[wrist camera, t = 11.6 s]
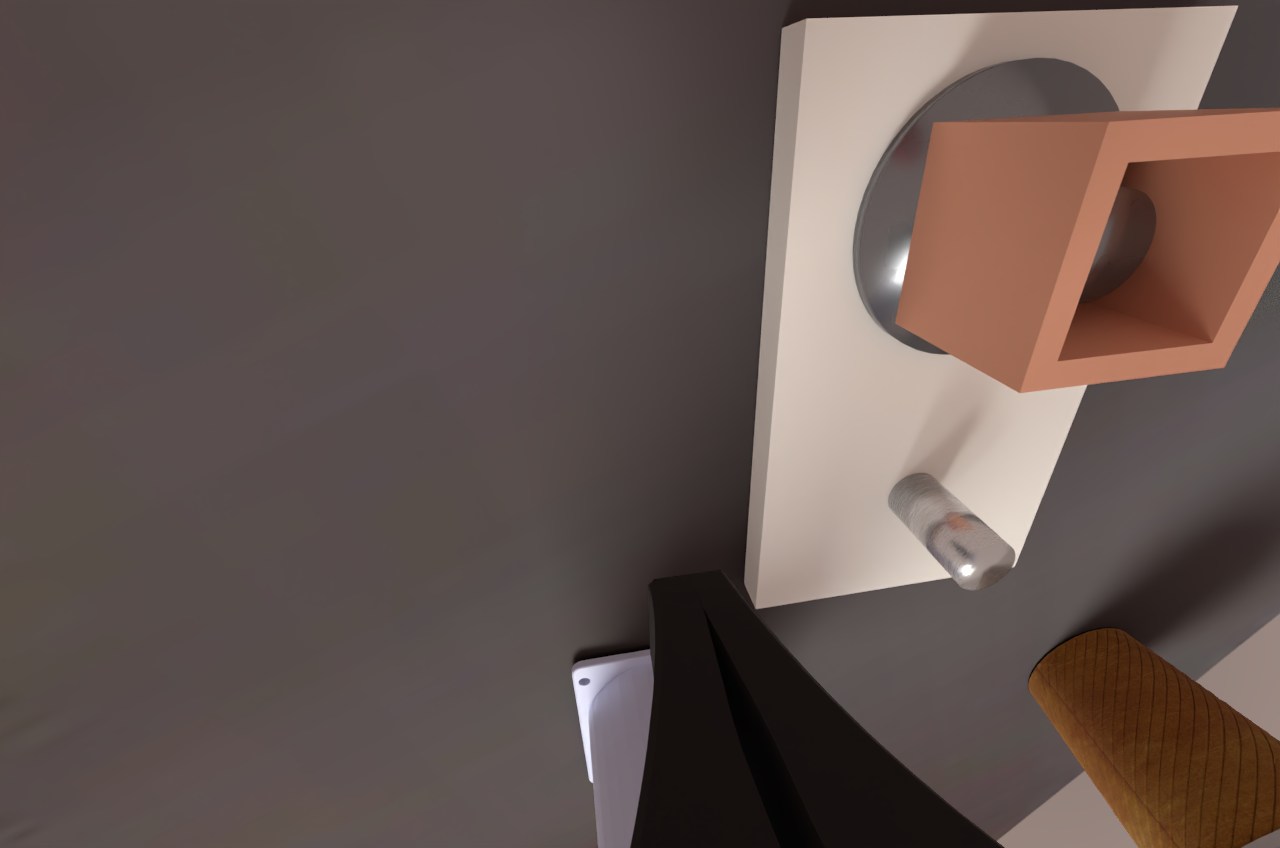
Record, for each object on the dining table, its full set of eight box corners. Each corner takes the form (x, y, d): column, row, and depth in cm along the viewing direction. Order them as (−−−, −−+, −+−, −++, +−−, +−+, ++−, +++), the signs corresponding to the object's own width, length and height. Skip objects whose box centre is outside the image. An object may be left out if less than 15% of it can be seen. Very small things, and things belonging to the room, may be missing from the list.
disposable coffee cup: (1183, 635, 32) (1488, 878, 22) (1053, 729, 35) (1267, 980, 25) (1107, 584, 28) (1432, 847, 18) (970, 693, 32) (1181, 972, 21)
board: (990, 544, 25) (1014, 567, 24) (743, 583, 24) (755, 609, 23) (1180, 15, 16) (1238, 5, 14) (782, 28, 14) (806, 18, 13)
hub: (1056, 336, 18) (1175, 385, 15) (835, 360, 18) (907, 418, 14) (1156, 54, 15) (1348, 32, 11) (878, 65, 14) (992, 46, 10)
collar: (1118, 111, 15) (1360, 105, 10) (1053, 306, 17) (1224, 367, 13) (933, 122, 14) (1109, 122, 10) (895, 323, 17) (1019, 393, 12)
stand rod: (930, 511, 22) (1005, 584, 18) (883, 517, 21) (950, 594, 18) (942, 469, 21) (1023, 539, 17) (892, 476, 20) (965, 548, 17)
